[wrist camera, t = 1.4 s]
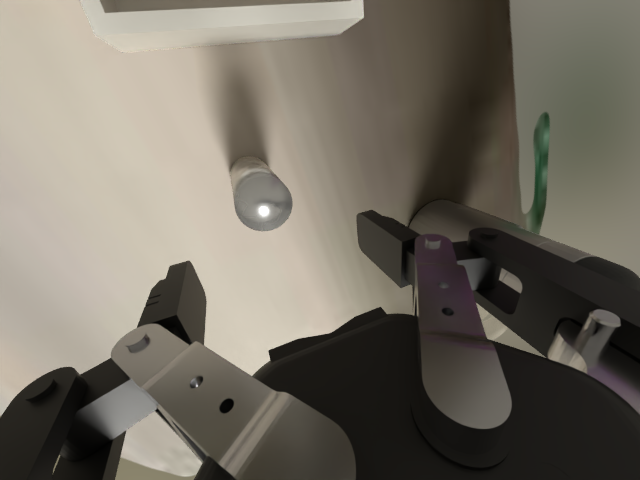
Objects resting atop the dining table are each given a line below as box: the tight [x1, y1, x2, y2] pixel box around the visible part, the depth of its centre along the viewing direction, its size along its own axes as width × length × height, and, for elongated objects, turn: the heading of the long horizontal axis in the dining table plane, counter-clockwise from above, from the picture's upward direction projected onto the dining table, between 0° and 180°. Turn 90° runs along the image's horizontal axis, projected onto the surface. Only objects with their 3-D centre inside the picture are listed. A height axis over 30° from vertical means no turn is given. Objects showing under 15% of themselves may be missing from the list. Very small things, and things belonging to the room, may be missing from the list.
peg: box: [230, 156, 292, 231], centre depth 22 cm, size 4×4×10 cm
